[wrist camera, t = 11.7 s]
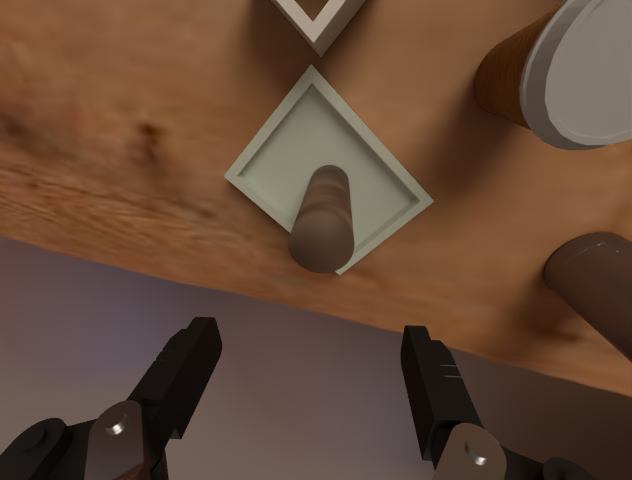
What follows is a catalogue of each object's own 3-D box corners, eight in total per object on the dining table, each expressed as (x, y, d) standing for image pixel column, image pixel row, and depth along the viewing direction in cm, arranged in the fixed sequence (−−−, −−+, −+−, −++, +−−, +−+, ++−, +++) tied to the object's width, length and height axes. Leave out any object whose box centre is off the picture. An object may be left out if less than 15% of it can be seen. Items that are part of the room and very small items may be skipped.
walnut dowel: (357, 184, 30) (368, 247, 18) (329, 210, 32) (321, 283, 19) (329, 156, 29) (320, 201, 16) (301, 184, 30) (275, 245, 18)
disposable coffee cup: (442, 126, 27) (507, 145, 17) (478, 6, 23) (596, -71, 12) (537, 136, 27) (662, 161, 17) (591, 17, 23) (811, -52, 12)
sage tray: (427, 193, 31) (434, 201, 29) (339, 264, 36) (339, 275, 34) (313, 66, 26) (311, 64, 24) (231, 170, 31) (223, 176, 29)
